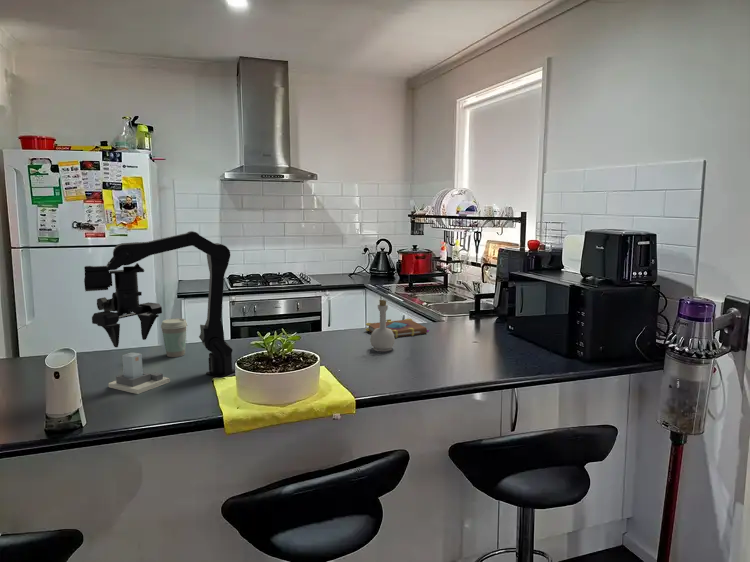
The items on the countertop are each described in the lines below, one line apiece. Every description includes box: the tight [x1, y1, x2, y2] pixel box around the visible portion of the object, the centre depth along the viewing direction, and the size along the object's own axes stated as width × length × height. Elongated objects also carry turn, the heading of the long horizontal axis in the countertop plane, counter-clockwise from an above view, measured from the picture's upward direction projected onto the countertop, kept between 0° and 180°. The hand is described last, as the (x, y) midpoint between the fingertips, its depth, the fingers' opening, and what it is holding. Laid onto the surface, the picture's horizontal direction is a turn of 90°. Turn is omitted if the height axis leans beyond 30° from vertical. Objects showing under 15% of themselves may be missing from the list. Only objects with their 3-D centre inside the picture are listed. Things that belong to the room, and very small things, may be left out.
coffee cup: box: [160, 317, 188, 358], centre depth 182 cm, size 8×9×12 cm
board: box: [108, 371, 171, 395], centre depth 153 cm, size 12×11×3 cm
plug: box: [121, 352, 144, 379], centre depth 152 cm, size 4×3×8 cm
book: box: [365, 318, 430, 339], centre depth 216 cm, size 16×25×5 cm, turn 115°
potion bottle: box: [369, 299, 396, 353], centre depth 189 cm, size 9×9×18 cm
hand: (130, 343), depth 151 cm, fingers open, 9 cm apart
